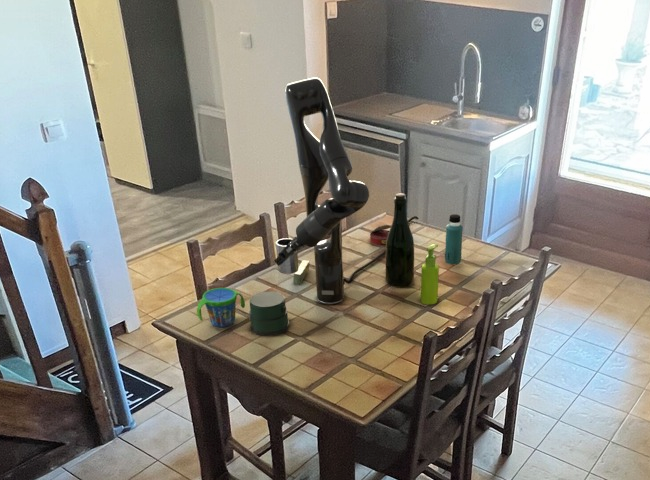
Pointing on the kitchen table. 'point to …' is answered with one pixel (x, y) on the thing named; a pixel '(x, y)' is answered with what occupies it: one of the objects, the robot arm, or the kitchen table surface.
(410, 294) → the kitchen table surface
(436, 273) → the soap dispenser
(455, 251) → the beverage bottle
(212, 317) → the snack cup
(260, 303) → the green lidded canister
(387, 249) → the wine bottle
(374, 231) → the canned food
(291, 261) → the tumbler
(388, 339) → the kitchen table surface
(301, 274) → the medication box
